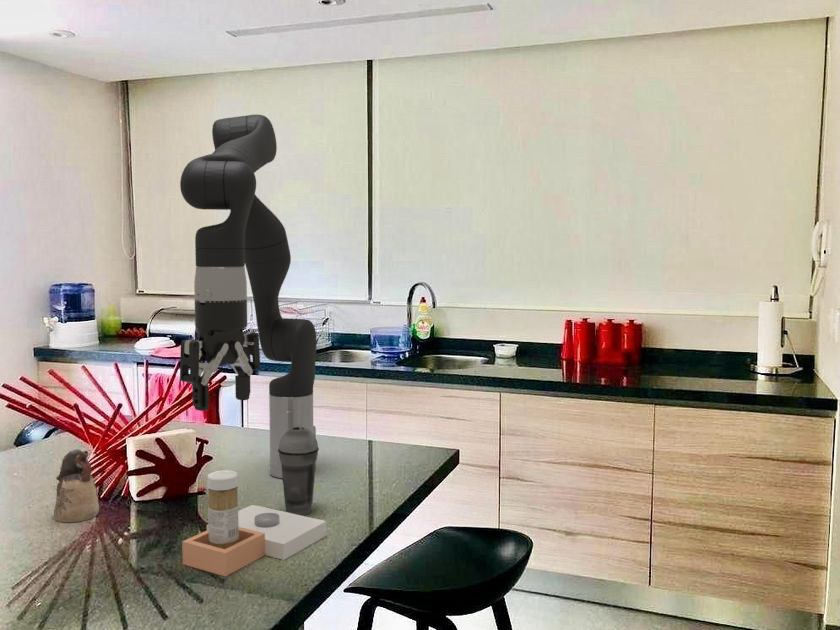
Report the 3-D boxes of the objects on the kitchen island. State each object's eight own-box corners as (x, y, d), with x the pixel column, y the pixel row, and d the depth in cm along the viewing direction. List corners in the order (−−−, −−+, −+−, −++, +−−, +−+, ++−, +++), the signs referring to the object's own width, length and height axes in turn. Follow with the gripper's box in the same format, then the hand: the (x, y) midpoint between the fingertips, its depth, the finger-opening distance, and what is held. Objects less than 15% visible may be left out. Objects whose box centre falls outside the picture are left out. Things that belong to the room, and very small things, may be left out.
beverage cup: (303, 502, 135) (303, 397, 133) (327, 512, 129) (326, 403, 128) (270, 511, 130) (269, 403, 128) (293, 522, 124) (292, 409, 123)
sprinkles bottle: (228, 551, 112) (227, 467, 111) (245, 559, 109) (244, 473, 108) (202, 559, 109) (201, 473, 108) (218, 568, 105) (217, 480, 104)
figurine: (80, 506, 131) (78, 442, 131) (108, 512, 128) (106, 447, 127) (45, 518, 125) (43, 451, 124) (73, 525, 122) (71, 457, 121)
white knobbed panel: (252, 518, 126) (252, 499, 126) (326, 535, 118) (326, 515, 118) (165, 559, 109) (164, 536, 109) (244, 582, 101) (244, 558, 101)
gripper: (235, 294, 114) (237, 394, 115) (165, 298, 101) (167, 411, 103) (272, 295, 110) (273, 399, 112) (204, 300, 98) (206, 416, 99)
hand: (222, 404), depth 107 cm, fingers open, 8 cm apart
